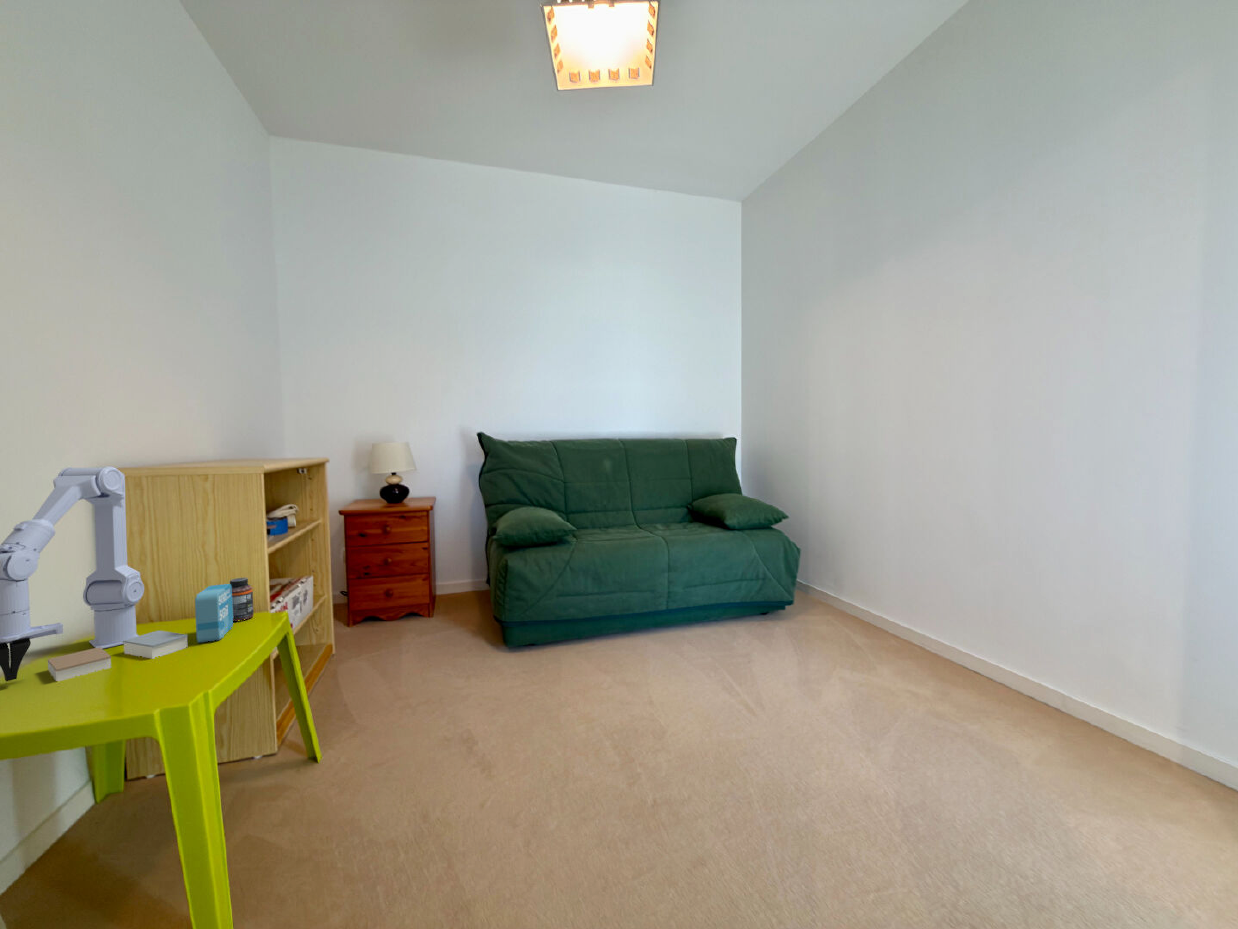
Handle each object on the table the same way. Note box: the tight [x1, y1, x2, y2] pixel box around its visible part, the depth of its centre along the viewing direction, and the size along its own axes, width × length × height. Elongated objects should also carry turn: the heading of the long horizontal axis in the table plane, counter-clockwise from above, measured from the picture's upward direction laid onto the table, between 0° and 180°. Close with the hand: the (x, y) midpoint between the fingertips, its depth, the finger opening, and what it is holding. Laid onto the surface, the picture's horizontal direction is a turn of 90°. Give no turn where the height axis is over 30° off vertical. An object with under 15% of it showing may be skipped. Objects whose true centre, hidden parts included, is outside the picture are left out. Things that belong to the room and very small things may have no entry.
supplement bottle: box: [229, 577, 254, 621], centre depth 142 cm, size 6×6×11 cm
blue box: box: [194, 583, 234, 643], centre depth 129 cm, size 12×4×12 cm, turn 24°
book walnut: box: [47, 647, 112, 682], centre depth 109 cm, size 10×8×3 cm
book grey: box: [123, 629, 189, 660], centre depth 120 cm, size 11×7×3 cm, turn 71°
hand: (10, 679), depth 102 cm, fingers closed
